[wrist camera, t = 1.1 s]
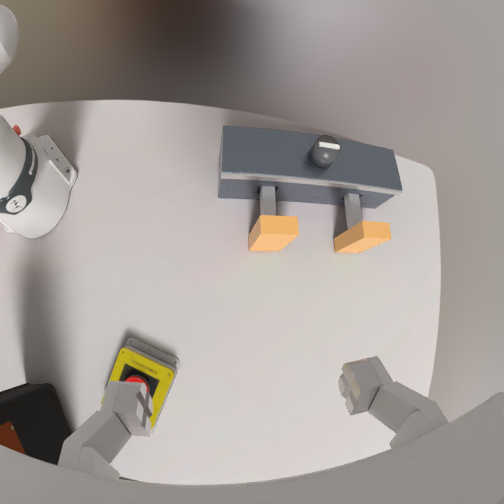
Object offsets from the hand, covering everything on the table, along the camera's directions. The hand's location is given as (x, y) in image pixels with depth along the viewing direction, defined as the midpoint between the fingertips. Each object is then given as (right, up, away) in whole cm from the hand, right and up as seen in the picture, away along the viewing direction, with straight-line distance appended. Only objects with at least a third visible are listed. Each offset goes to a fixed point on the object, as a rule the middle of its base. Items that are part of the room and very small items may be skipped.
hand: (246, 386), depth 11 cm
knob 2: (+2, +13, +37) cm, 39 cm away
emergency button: (-18, -16, +29) cm, 38 cm away
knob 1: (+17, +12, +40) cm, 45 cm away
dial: (+11, +20, +31) cm, 38 cm away
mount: (+9, +18, +40) cm, 45 cm away
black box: (-35, -25, +24) cm, 49 cm away
